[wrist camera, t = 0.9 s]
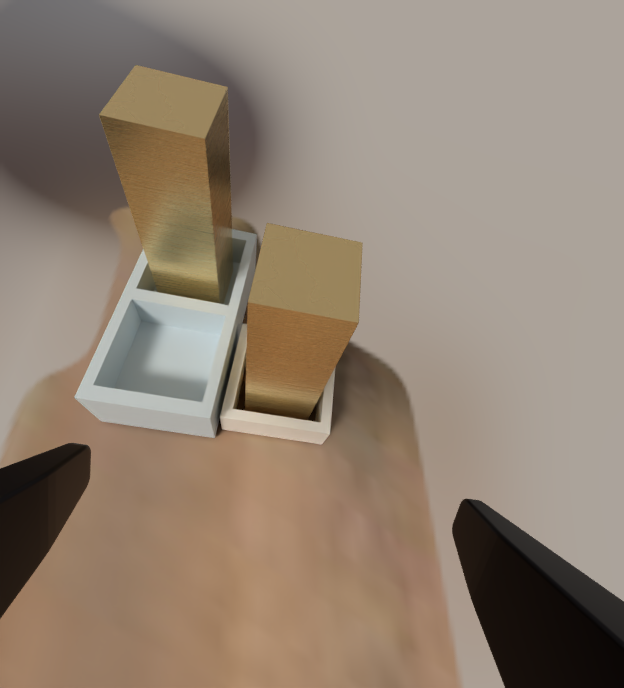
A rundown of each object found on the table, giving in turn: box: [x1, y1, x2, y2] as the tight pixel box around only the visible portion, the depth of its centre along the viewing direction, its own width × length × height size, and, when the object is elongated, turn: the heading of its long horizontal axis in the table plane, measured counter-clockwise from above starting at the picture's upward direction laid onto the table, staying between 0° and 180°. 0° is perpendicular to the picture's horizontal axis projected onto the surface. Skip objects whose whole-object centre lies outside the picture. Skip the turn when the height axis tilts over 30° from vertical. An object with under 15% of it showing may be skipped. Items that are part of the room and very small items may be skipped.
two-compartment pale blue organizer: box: [74, 229, 257, 438], centre depth 24 cm, size 14×7×4 cm, turn 174°
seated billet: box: [99, 65, 233, 304], centre depth 20 cm, size 4×4×12 cm
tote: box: [220, 324, 335, 444], centre depth 23 cm, size 6×6×2 cm
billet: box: [245, 223, 362, 420], centre depth 19 cm, size 4×4×12 cm
